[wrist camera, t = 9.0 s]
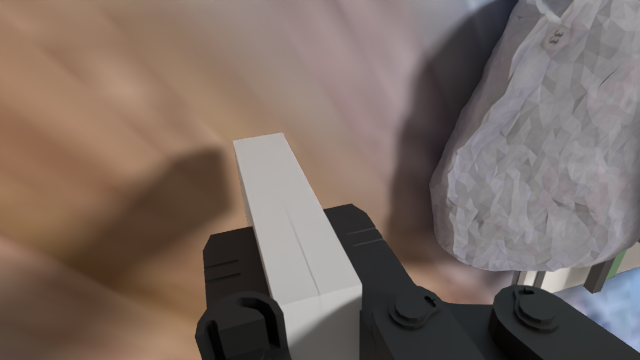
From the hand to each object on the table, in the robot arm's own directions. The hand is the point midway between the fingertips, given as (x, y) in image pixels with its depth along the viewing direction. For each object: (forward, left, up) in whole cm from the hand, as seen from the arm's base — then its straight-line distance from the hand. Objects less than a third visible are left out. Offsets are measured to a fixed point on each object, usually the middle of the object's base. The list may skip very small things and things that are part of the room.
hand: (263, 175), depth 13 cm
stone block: (+1, +12, -2) cm, 12 cm away
